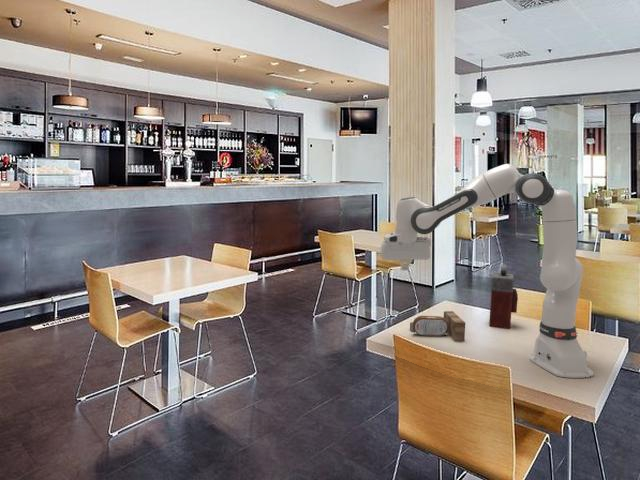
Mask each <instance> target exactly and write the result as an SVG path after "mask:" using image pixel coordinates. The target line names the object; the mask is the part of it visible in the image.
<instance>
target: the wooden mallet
mask: <svg viewBox="0 0 640 480" xmlns="http://www.w3.org/2000/svg"><path fill="white" fill-rule="evenodd" d="M443 318H445V319H446V320H447V323H448V326H449V328H448V331H447V333H446V334H447V335H448V336H449V337H450V338H451V339H452V340H453V341H454V342H465V339H466V338H465V337H466V336H465V335H466V322H465V321H464V320H463V319H462V318H461V317H460V316H459V315H458V314H456V312H455V311H453V310H451V311H450V310H445V311H443ZM409 329H410V331H411V332H413V333H414V332H415V331H414V329H413V321H412V322H411V321H410V322H409ZM415 333H416V332H415Z"/></svg>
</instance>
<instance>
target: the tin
mask: <svg viewBox="0 0 640 480" xmlns="http://www.w3.org/2000/svg"><path fill="white" fill-rule="evenodd" d="M412 322H413V329H414V331H415V334H417V335H418V336H421V335H422V336H424V337H426V336H427V337H442V336H445V335H446V334H448V333H447V331H448V328H449V326H448V323H447V320H446V319H445V318H444V316H437V315H418V316H417V317H415V318H414V320H413V321H412Z"/></svg>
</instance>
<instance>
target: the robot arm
mask: <svg viewBox="0 0 640 480" xmlns="http://www.w3.org/2000/svg"><path fill="white" fill-rule="evenodd" d="M508 194H515V195H516V196H517V197H518V198H519V199H520V201H522V202H523V203H525V204H530V205H536V206H539V208H540V210H541V215H542V216H541V218H542V219H541V221H542V232H543V233H542V235H543V245H542V246H543V249H542V256H541V257H542V259H541V270H540V274H539V280H540V282H541V284H542V286H543V287H545V289H546V292H545V295H544V299H543V301H542V313H541V321H540V324H539V331H538V332H539V335H538V336H537V337H536V339H535V342H534V348H533V354H532V355H531V356H529V361H530V362H532V363H534V364H535V365H537V366H538V367H540V368H541V369H544V370H546V371H547V372H549V373H551V374H552V375H554V376H556V377H561V378H571V379H581V378H582V379H583V378H584V379H586V378H591V377H593V375H594V376H595V373H594V371H593V370H592V369H591V368H590V367H589V366H588V364H587V362H588V359H587V357H588V352H587V351H585V350H583V348H582V347H581V344H580V343H579V341H578V339H577V337H578V334H579V332H577V328H576V324H575V323H576V316H577V315H576V314H577V305H578V300H579V296H580V291H581V287H582V282H583V281H582V280H583V276H584V275H583V274H584V266H583V263H582V262H581V261H580V260H579V259H578V258H576V255H577V245H578V227H577V226H578V225H577V223H578V221H577V213H576V211H577V210H576V206H575V201H574V198H573V195H572V193H570V192H569V191H568V190H565V189H554V188H553V187H552V185H551V184H550V182H549V181H548V179H547V178H546V177H545V176H543V175H541V174H540V173H534V172H533V173H532V172H531V173H527V174H521V173H520V172H519V171H518V168H516V167H515V166H514V165H513V164H510V163H505V164H504V163H503V164H501V165H498V166H496V167H493V168H490V169H489V170H486V171H484V172H482V173H481V174H479V175H478V176H475V177H474V178H473V179H471V180H470V181H469V182H468V183H466V184H465V185H464V187H463V188H461V189H460V190H459V191H458V192H457V193H456V194H454V195H453V196H450V197H449V198H447V199H446V200H444V201H441V202H440V203H438V204H435V205H433V206H432V205H430V204H427V203H425V202H423V201H421V200H419V199H418V198H417V197H415V196H411V197H404V198H401V199H399V200H398V202H397V204H396V208H395V209H396V211H395V221H396V226H395V228H394V229H395V230H394V231H392V232H390V233H388V234H384V236H383V240H384V241H383V242H382V243H381V245H380V255H379V257H380V258H381V259H382V260H385V261H386V260H387V261H388V260H389V261H390V260H393V261H394V260H397V262H398V263H399V265H400V270H401V271H409V269H410V266H411V264H412V261H413V260H415V261H416V260H420V261H421V260H422V261H423V260H430V258H431V248H430V247H431V246H432V245H431V244H432V241H431V239H430V238H429V237H428V236H418V234H420V235H428V234H430V233H432V232H434V231H435V229H436V228H437V227H439V226H440V224H441V223H442V222H443V221H445V220H447V219H448V218H450V217H452V216H454V215H456V214H458V213H460V212H461V211H465V210H467V209H470V208H475V207H480V206H483V205H486V204H488V203H490V202H491V203H492V202H493V201H495V200H497V199H499V198H501V197H503V196H505V195H508ZM404 260H406V261H407V263H406V265H405V264H403V262H404ZM590 376H591V377H590ZM585 377H586V378H585Z"/></svg>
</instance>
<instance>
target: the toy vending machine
mask: <svg viewBox="0 0 640 480" xmlns="http://www.w3.org/2000/svg"><path fill="white" fill-rule="evenodd" d="M491 279H492V280H491V294H490V306H489V307H490V308H489V321H488V327H491V328H498V329H506V330H508V329H509V330H510V329H511V323H512V322H511V321H512V320H511V319H512V313H514V314H516V313H517V311H518V301H519V297H518V296H519V295H518V291H517V288H514V281H515V275H514V274H513V273H507V265H506V264H501V266H500V272H494V273H492V278H491Z"/></svg>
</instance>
